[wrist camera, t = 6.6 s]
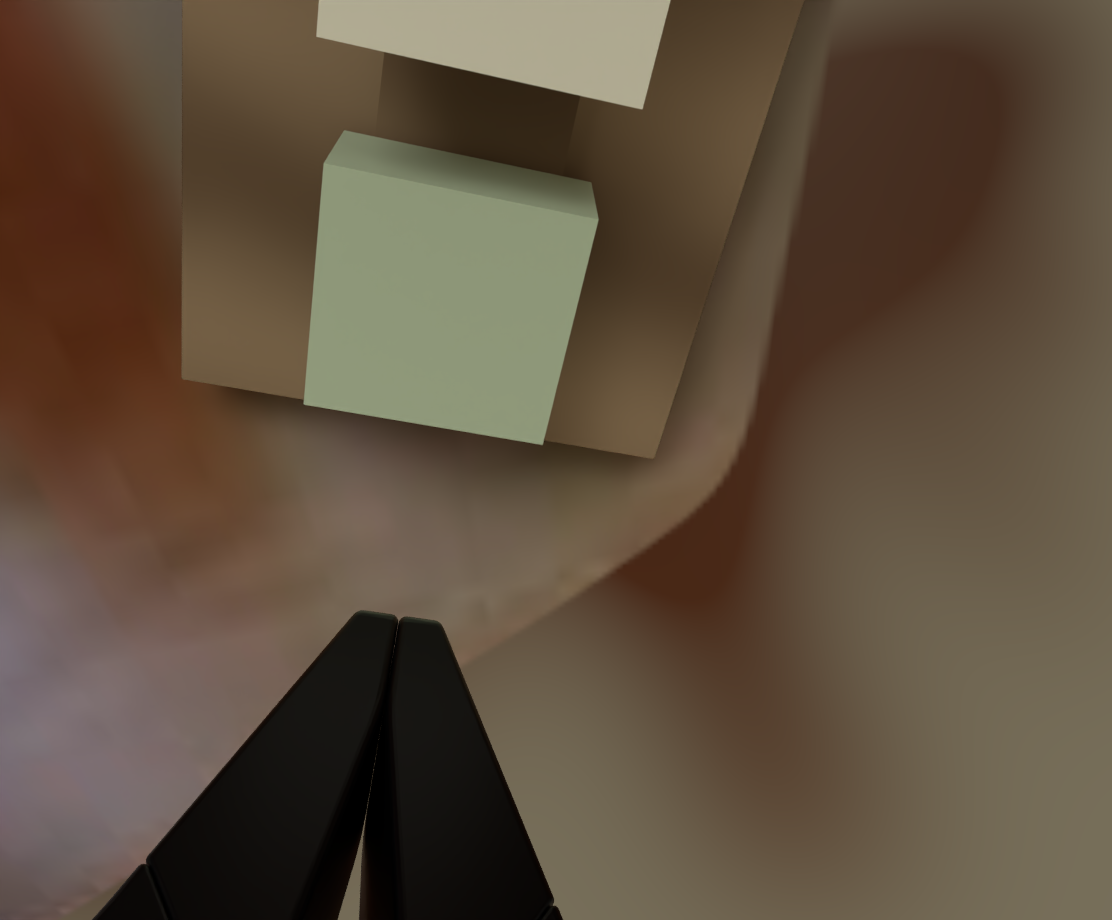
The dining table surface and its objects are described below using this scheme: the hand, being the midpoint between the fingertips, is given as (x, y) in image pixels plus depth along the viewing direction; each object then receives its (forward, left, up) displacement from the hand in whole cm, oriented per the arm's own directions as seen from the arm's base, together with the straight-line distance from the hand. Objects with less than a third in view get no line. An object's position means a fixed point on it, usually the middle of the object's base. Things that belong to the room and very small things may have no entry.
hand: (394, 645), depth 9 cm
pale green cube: (0, 0, -11) cm, 11 cm away
